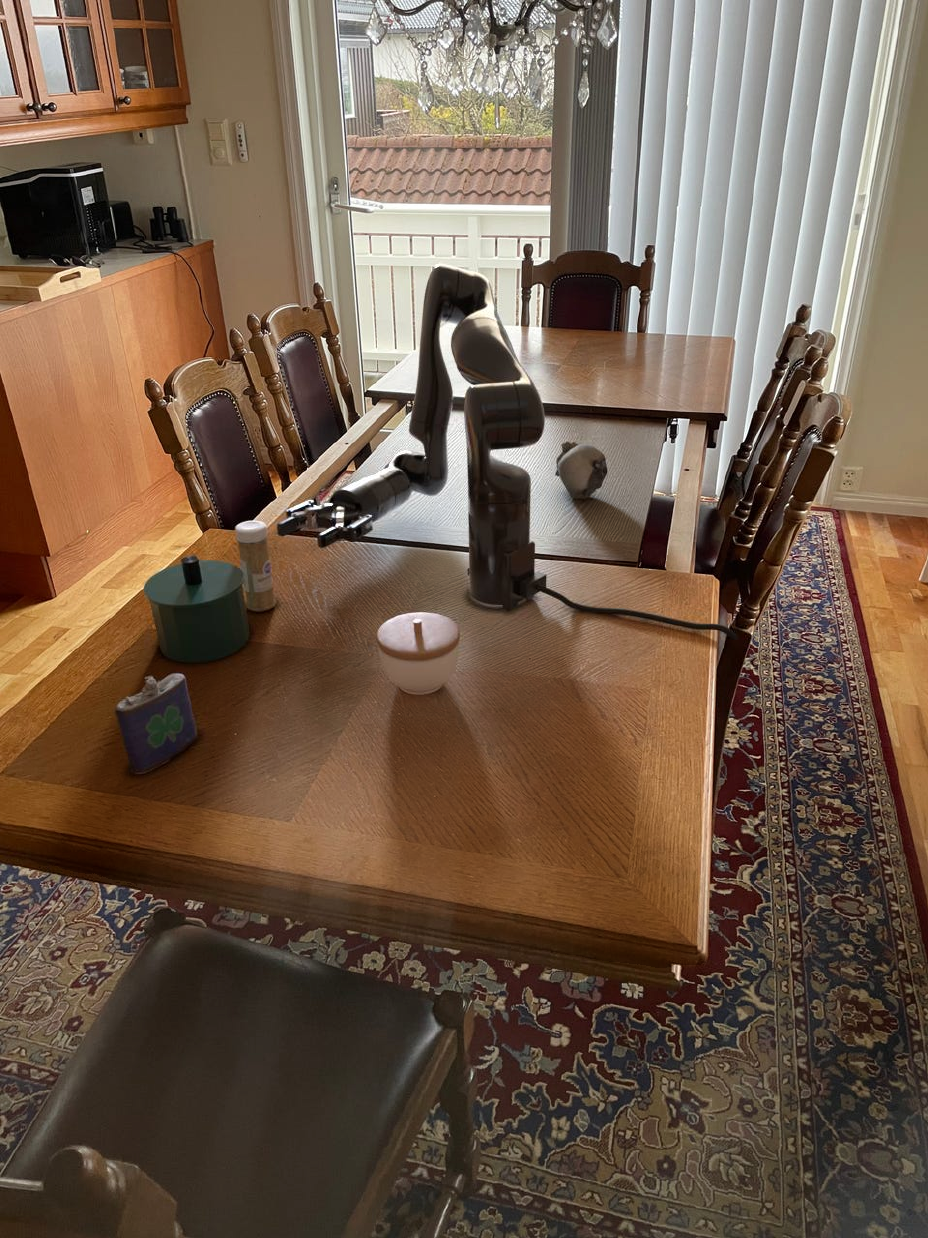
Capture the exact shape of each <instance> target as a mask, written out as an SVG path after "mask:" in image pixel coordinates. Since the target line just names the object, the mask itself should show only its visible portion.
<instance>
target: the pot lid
mask: <svg viewBox="0 0 928 1238" xmlns="http://www.w3.org/2000/svg"><path fill="white" fill-rule="evenodd" d="M243 582H244V575H243V572H242V569H241V567H239V566H237V565H235V564H233V563H231V562H227V561H222V560H214V559H203V560H202V559H200V558H199V556H197V555H187V556H184V557H182V558H181V559H180V563H177V564H174V565H171V566H167V567H166V568H163V569H162V570H159V571H158V572H156V573H154V574H153V575H151V576H150V577H149V578H148V579H147V580H146V582H145V583H144V585H143V594H144V597H145V598H146V599H147V601H148V602H149V603H150V602H152V603H153V604H156V605H159V606H162V607H168V608H193V607H199V606H204V605H209V604H212V603H215V602H218V601H221V600H223V599H225V598H227V597H229V596H231V595H232V594H234V593H235V592H236V591H238V590H239V589H240V588H241V586H242V587H243V586H244V583H243Z"/></svg>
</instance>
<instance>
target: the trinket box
mask: <svg viewBox="0 0 928 1238" xmlns="http://www.w3.org/2000/svg"><path fill="white" fill-rule="evenodd" d="M460 633H461V632H460V628H459V626H458V624H457V623H456V622H455V621H453V620H452V619H450V617H447V616H444V615H442V614H439V613H433V612H423V611H419V612H408V613H403V614H400V615H396V616H394V617H392V618H389V619H388V620H386V621H385V622H384V623H382V624H381V626H380V627H379V628H378V630H377V632H376V643H377V647H378V655H379V660H380V664H381V666H382V669H383V671H384V673H385V675H386V677H388V679H389V680H390V682H392V683H393V684H394V685H396V686H397V687H398V688H399V689H400V690H401V691H402V692H404V693H407V694H409V695H414V696H423V695H430V694H432V693H435V692H437V691H439V690H440V689H441V688H442V686H443V685H445V683H447V682H448V680H450V679H451V677H452V675H453V674H454V672H455V670H456V667H457V663H458V661H459V654H460V640H461V639H460V638H461V635H460Z"/></svg>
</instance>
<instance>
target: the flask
mask: <svg viewBox="0 0 928 1238" xmlns="http://www.w3.org/2000/svg"><path fill="white" fill-rule="evenodd" d="M143 679H144V680H145V683H146V684H145V685H144V686H143V688H142V689H141V692H139V693H137V694H134V695H133V696H126V697H125V698H124V699H122V700H121V701H119V702H118V703H117V705H116V706H115V709H114V713H115V717H116V719H117V723H118V727H119V730H120V735H121V737H122V739H123V744H124V748H125V752H126V755H127V759H128V763H129V767H130V769H131V770H130V772H132V773H134V774H135V775H141V774H146V773H148V772H150V771H153V770H155V769H156V768H158V767H161V766H162V765H164V764H166V763H168V762H169V761H171V760H172V759H173V758H174V757H175V756H177V755H179V754H180V753H181V752H183V751H185V750H186V749H188V747H190V746H191V745H193V744H194V742H195V741H196V740H197V739H198V730H197V727H196V721H195V718H194V717H195V716H194V713H193V708H192V702H191V699H190V695H189V690H188V685H187V679H186V676H185V675H184V674H183V673H170V674H169V675H167V676H166V677H165V678H163V679H161V680H156V679H155V678H154V676H153V675H149V676H145V677H144V678H143Z"/></svg>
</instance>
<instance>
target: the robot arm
mask: <svg viewBox="0 0 928 1238" xmlns="http://www.w3.org/2000/svg"><path fill="white" fill-rule="evenodd" d="M422 304H423V306H422V314H421V315H422V316H421V329H420V337H419V350H418V351H419V354H418V368H417V377H416V378H417V379H416V387H415V393H414V398H413V403H412V408H411V414H410V418H409V425H408V433H409V435H410V437H412V438H414V439H415V440H417V441H418V442H420V443H421V444H422V447H423V452H424V453H421V452H418V451H414V450H403V451H400V452H397V453H396V454H395V455H394V456H393V457H392V458H391V459H390V461H388V463H387V464H386V465H385V466H384V467H383V468H382V469H381V470H379V471H377V472H375V473H373V474H371V475H368V476H365V477H362V478H359V479H358V480H355V481H354V482H352V483H350V484H348V485H345V486H344V487H342V488H340V489H337V490H335V491H334V492H333V493H332V495H331V497H330V499H329V501H328V502H327V503H322V504H320V505H315V502H314V500H313V499H308V500H305V501H303V502H301V503H299V504H297V505H294V506H292V507H290V508H288V509H286V510H285V516H286V517H285V518H286V519H284V520H282V521H280V522H278V523H277V524H276V529H277V535H278V536H279V537H282V538H283V537H285V536H287V535H290V534H291V533H293V532H295V531H297V530H300V529H305V528H307V529H308V530H317V529H318V530H319V529H326V530H324V531H322V532H320V533H318V534H317V537H316V540H317V546H318V548H321V549H324V548H327V547H328V546H331V545H332V544H335V543H336V542H344V541H345V540H347V541H348V542H349V543H355V542H357V541H359V539H361V538H363V537H365V536H366V535H367V534H369V533H371V532H372V531H373V530H374V526H373V523H375V522H376V521H378V520H380V519H382V518H384V517H385V516H386V515H387V514H388V513H390V512H392V511H393V510H395V509H396V508H397V509H398V507H401V506H402V505H404V504H405V503H406V502H407V501H409V500H410V498H411V495H412V493H413V492H415V493H418V494H421V495H423V496H427V497H435V496H437V495H438V494H440V493H441V492H442V491H443V490H444V488H445V486H446V484H447V482H448V479H449V458H448V430H449V426H450V420H451V415H452V411H453V405H454V388H453V384H452V381H451V378H450V374H449V371H448V368H447V366H446V362H445V359H444V356H443V352H442V348H441V340H440V339H441V338H440V336H441V335H440V333H441V323H442V322H443V323H447V324H450V325H455V328H454V329H453V332H452V334H451V337H450V349H451V353H452V357H453V360H454V363H455V365H456V369H457V370H458V372H459V374H460V376H461V377H462V378H463V379H464V380H465V381H466V382H467V383H468V384H470V386H469V387H468V388H467V389H466V393H465V394H464V400H463V417H464V431H465V432H464V433H465V443H466V465H467V467H466V469H467V508H468V509H467V522H468V523H467V524H468V526H467V527H468V528H467V530H468V568H467V570H466V571H467V576H469V589H468V597H469V599H470V601H471V602H473V603H474V604H475V605H477V606H479V607H482V608H486V609H490V610H503V611H505V612H511V611H513V610H514V609H516V608H518V607H520V606H522V605H524V604H525V603H527V602H528V601H530V600H532V599H533V598H534V597H535V595H537V594H539V593H540V592H541V593H543V594H544V595H545V594H546V595H548V596H550V597H552V598H555V599H557V601H560V602H561V603H563V604H564V605H565V606H567V607H568V608H571V609H574V610H577V611H580V612H587V613H594V614H603V615H620V616H629V617H633V618H640V619H645V620H649V621H654V622H659V623H663V624H667V625H672V626H676V627H680V628H686V629H691V630H698V631H699V630H700V631H718V632H721V633H723V634H725V635H726V636H727V637H728V638H730V639H731V640H738V639H739V638H738V637H739V636H737V634H736V633H735V632H734V631H733V630H732V629H731V628H729V627H727V626H726V625H723V624H719V623H699V622H697V623H696V622H691V621H686V620H681V619H677V618H676V619H675V618H673V617H668V616H662V615H659V614H653V613H649V612H645V611H639V610H634V609H626V608H617V607H615V608H613V607H600V606H599V607H598V606H589V605H584V604H581V603H576V602H574V601H572V600H570V599H569V598H567V597H566V596H565V595H563V594H561V593H560V592H558V591H556V590H553V589H551V588H549V587H547V576H548V575H547V574H546V573H543V572H541V571H539V570H536V567H535V565H536V543H535V542H534V541H533V540H531V502H532V501H531V499H532V498H531V497H532V496H531V495H532V493H531V492H532V478H531V476H530V474H529V472H528V471H527V470H526V469H525V468H523V467H521V466H518V465H516V464H513V463H509V462H505V461H502V460H500V459H497V458H495V457H494V456H492V455H491V453H492V452H491V451H498V450H514V449H522V448H523V449H524V448H528V447H531V446H534V445H536V444H537V443H538V442H539V441H540V440H541V438H542V437H543V434H544V431H545V424H546V423H545V422H546V418H545V409H544V404H543V400H542V397H541V395H540V393H539V390H538V388H537V386H536V384H535V383H534V381H533V380H532V378H531V377H530V376H529V375H528V372H526V370H525V369H524V368H523V366H522V364H521V363H520V360H519V359H518V357H517V354H516V352H515V349H514V347H513V344H512V342H511V339H510V337H509V335H508V333H507V331H506V329H505V327H504V325H503V323H502V320H501V318H500V316H499V313H498V310H497V307H496V306H497V305H496V302H495V298H494V292H493V289H492V286H491V283H490V281H489V279H488V278H487V277H486V276H485V275H483V274H481V273H479V272H477V271H472V270H470V269H469V270H468V269H464V268H461V267H456V266H453V265H448V264H444V263H439V264H436V265H435V266H434V267H433V269H432V270H431V272H430V274H429V276H428V279H427V282H426V286H425V292H424V296H423V303H422ZM313 516H314V517H315V522H313V521H312V518H313ZM535 570H536V571H535Z"/></svg>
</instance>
